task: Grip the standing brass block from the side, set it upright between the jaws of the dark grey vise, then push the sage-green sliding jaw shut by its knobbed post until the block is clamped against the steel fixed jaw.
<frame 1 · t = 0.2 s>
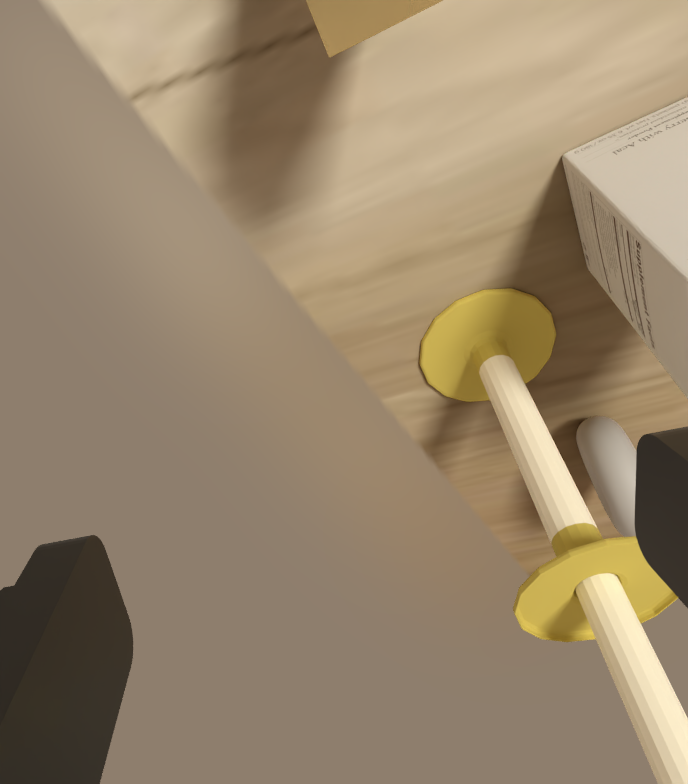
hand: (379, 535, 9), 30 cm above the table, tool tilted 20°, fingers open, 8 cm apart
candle: (486, 346, 46), on the table
donut: (590, 430, 53), on the table
supplement box: (641, 183, 39), on the table
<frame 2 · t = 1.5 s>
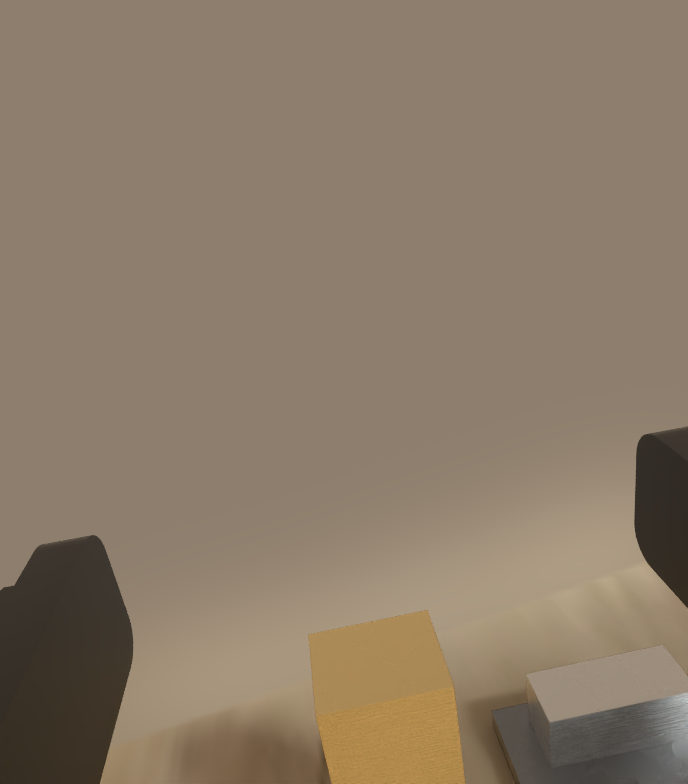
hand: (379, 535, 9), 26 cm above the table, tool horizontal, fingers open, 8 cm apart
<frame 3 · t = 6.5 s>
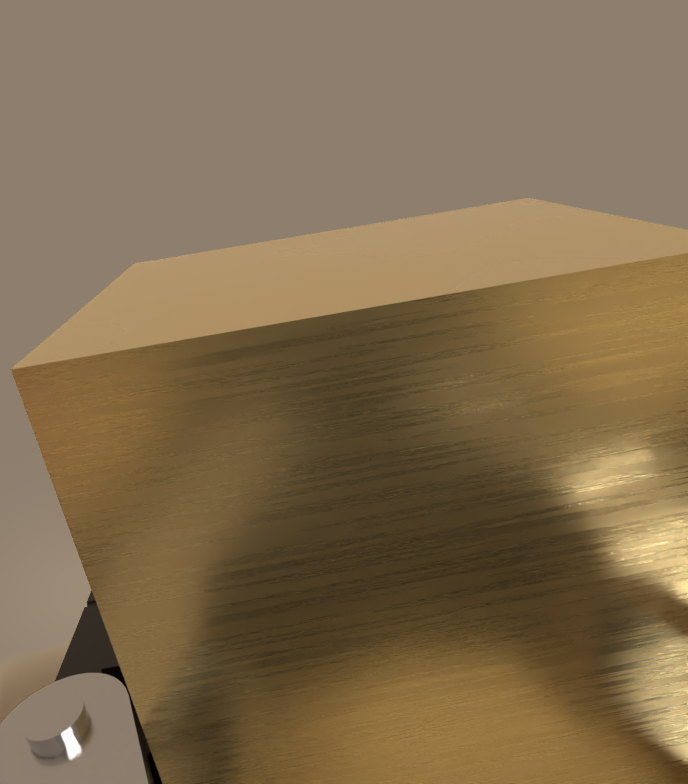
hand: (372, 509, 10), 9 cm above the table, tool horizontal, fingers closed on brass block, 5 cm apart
when the fingers open (10 cm above the table, at t = 10.5 s): brass block stays where it is, resting on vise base.
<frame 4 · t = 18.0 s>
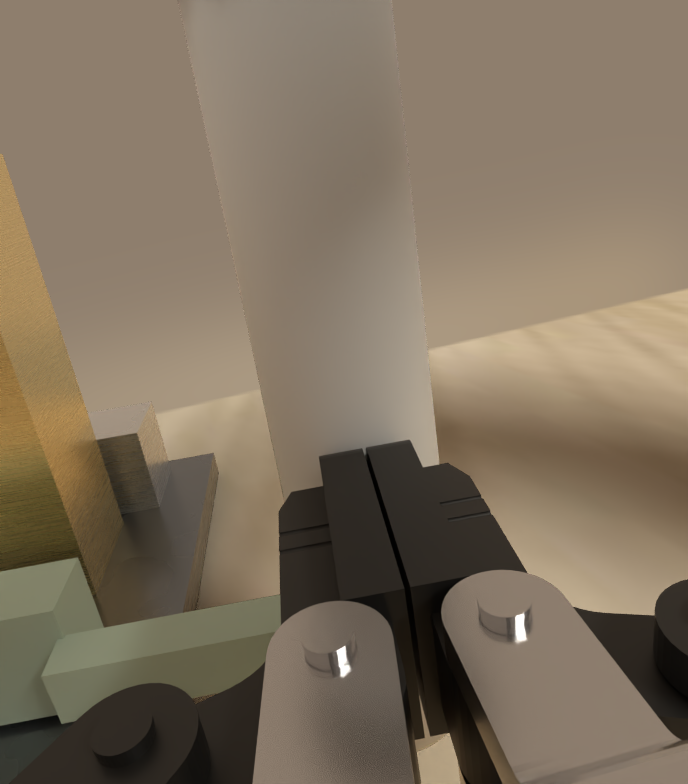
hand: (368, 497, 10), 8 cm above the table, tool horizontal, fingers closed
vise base: (47, 590, 22), on the table
brass block: (37, 569, 22), point 1 cm above the table, touching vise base
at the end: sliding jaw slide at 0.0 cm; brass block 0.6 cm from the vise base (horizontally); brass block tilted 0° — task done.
